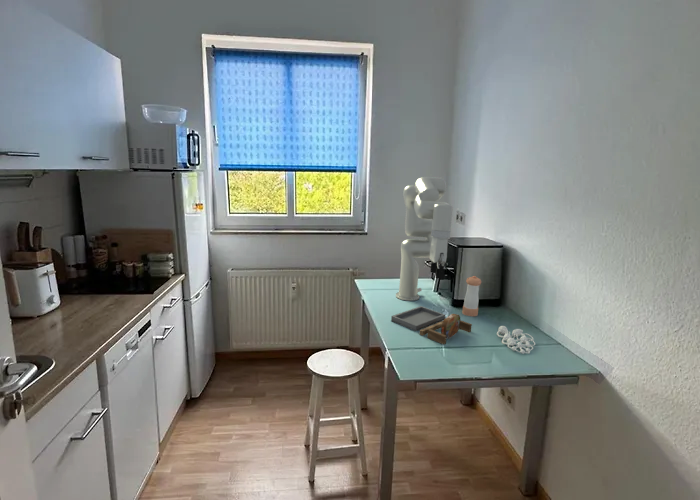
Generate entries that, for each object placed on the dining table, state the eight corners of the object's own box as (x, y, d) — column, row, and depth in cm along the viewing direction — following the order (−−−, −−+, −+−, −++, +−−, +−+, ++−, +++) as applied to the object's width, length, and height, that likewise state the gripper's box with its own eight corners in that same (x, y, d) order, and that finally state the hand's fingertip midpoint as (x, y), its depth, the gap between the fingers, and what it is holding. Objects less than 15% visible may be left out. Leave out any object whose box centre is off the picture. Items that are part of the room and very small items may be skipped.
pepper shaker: (479, 316, 195) (484, 278, 191) (464, 316, 196) (468, 277, 191) (475, 311, 203) (479, 274, 198) (460, 310, 203) (464, 273, 199)
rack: (447, 323, 186) (448, 315, 185) (471, 331, 177) (471, 324, 177) (419, 334, 171) (420, 326, 171) (443, 344, 163) (444, 336, 162)
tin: (445, 341, 166) (447, 322, 164) (438, 339, 168) (440, 320, 166) (460, 330, 178) (462, 312, 176) (453, 328, 180) (455, 310, 178)
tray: (420, 310, 199) (421, 306, 199) (444, 319, 190) (445, 314, 189) (391, 321, 184) (391, 316, 184) (415, 331, 175) (416, 325, 174)
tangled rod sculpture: (540, 360, 157) (543, 350, 156) (501, 352, 160) (504, 342, 159) (528, 338, 176) (531, 329, 175) (494, 331, 178) (496, 322, 177)
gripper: (427, 230, 173) (423, 269, 176) (436, 237, 156) (432, 280, 159) (444, 231, 173) (440, 270, 177) (455, 238, 156) (451, 281, 160)
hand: (436, 275), depth 168 cm, fingers open, 9 cm apart
